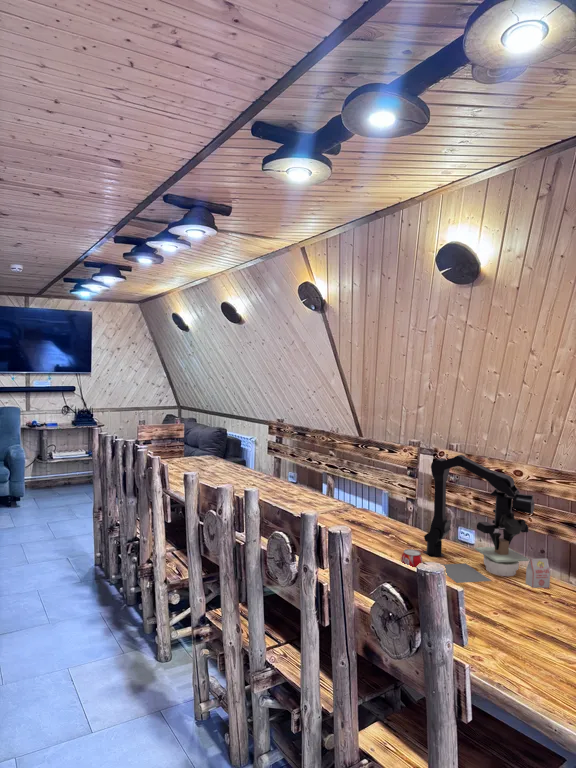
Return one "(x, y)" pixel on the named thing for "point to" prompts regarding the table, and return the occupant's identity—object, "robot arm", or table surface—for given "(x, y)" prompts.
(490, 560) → the bowl
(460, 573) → the mat
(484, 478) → the robot arm
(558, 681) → the table surface
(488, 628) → the table surface
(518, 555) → the lid
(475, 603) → the table surface
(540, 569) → the white gabled carton
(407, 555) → the soda can
